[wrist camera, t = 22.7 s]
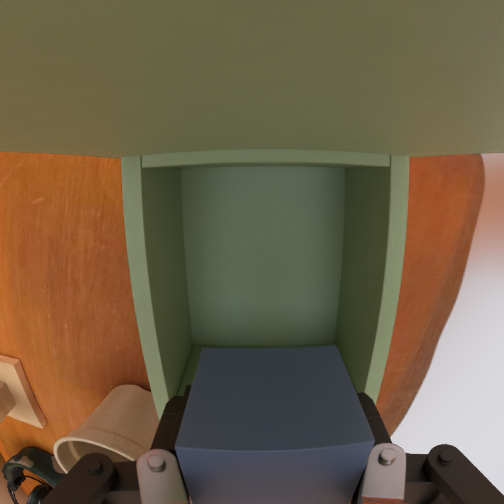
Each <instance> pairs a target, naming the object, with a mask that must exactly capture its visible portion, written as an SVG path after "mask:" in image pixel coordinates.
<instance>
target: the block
mask: <svg viewBox="0 0 504 504" xmlns="http://www.w3.org/2000/svg"><path fill="white" fill-rule="evenodd" d="M374 442H375V440H374V437H373V434H372V432H371V429H370V427H369V424H368V422H367V419H366V417H365V414H364V412H363V409H362V407H361V404H360V402H359V399H358V397H357V394H356V392H355V389H354V387H353V384H352V382H351V380H350V377H349V375H348V372H347V370H346V368H345V365H344V363H343V360H342V358H341V356H340V353H339V351H338V349H337V346H336V345H332V346H315V347H290V348H202V352H201V355H200V358H199V362H198V365H197V369H196V372H195V376H194V379H193V383H192V386H191V390H190V393H189V397H188V400H187V404H186V408H185V411H184V415H183V418H182V422H181V426H180V429H179V433H178V436H177V440H176V444H175V450H176V454H177V457H178V460H179V464H180V467H181V470H182V473H183V477H184V480H185V483H186V486H187V489H188V492H189V495H190V498H191V501H192V504H349V503H350V500H351V498H352V496H353V494H354V492H355V489H356V487H357V485H358V483H359V480H360V478H361V476H362V473H363V471H364V468H365V466H366V463H367V461H368V458H369V456H370V453H371V450H372V448H373V445H374Z"/></svg>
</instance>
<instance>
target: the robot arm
mask: <svg viewBox="0 0 504 504" xmlns="http://www.w3.org/2000/svg"><path fill="white" fill-rule="evenodd" d="M352 384H353V383H352ZM191 386H192V385H190V384H187V386H186V388H185V392H184V395H183V396H173V397H172V398H171V399H170V400H169V401H168V402H167V403H166V405H165V408H164V411H163V414H162V416H161V419H160V422H159V425H158V428H157V431H156V433H155V436H154V439H153V442H152V445H151V448H150V450H148V451H146V452H144V453H142V454H141V455H140V456H139V458H138V459H137V460H134V461H127V462H113V461H112V460H111V459H110V458H109V457H108V456H107V455H105V454H102V453H89V454H86V455H84V456H83V457H82V458H80V459H79V461H78V462H77V463H76V464H75V465H74V466H73V467H72V468H71V469H70V471H69V472H68V473H67V474H66V475H65V476H64V477H63V478H62V479H61V480H60V482H59V483H58V484H57V485H56V486H55V487H54V488H53V489H52V490H51V491H50V493H49V494H48V495H47V496H46V497H45V498H44V499H43V500H42V501H41V502H40V504H191V502H190V499H189V492H188V489H187V486H186V483H185V480H184V477H183V473H182V470H181V467H180V464H179V460H178V457H177V454H176V450H175V444H176V440H177V436H178V433H179V429H180V426H181V422H182V418H183V415H184V411H185V408H186V404H187V400H188V397H189V393H190V390H191ZM353 387H354V385H353ZM354 389H355V387H354ZM355 392H356V390H355ZM356 394H357V397H358V399H359V402H360V404H361V407H362V409H363V412H364V414H365V417H366V419H367V422H368V424H369V427H370V429H371V432H372V434H373V437H374V440H375V442H374V445H373V448H372V450H371V453H370V456H369V458H368V461H367V463H366V466H365V468H364V471H363V473H362V476H361V478H360V480H359V483H358V485H357V487H356V489H355V492H354V494H353V496H352V498H351V500H350V503H349V504H504V495H503V494H501V492H500V491H499V490H498V489H497V488H496V487H495V486H493V484H492V483H491V482H490V481H489V480H488V479H487V478H486V477H485V476H484V475H483V474H482V473H481V472H480V471H479V470H478V469H477V468H476V467H475V466H474V465H473V464H472V463H471V462H470V461H469V460H468V459H467V458H466V457H465V456H464V455H463V454H462V453H461V452H460V451H459V450H458V449H457V448H456V447H454V446H452V445H447V444H442V445H438V446H436V447H434V448H432V449H431V451H430V452H429V454H409V453H405V452H404V450H403V449H402V448H401V447H399V446H398V445H395V444H393V443H392V441H391V439H390V437H389V435H388V432H387V430H386V428H385V426H384V423H383V421H382V419H381V417H380V414H379V412H378V410H377V408H376V406H375V403H374V401H373V399H372V398H371V397H369V396H368V395H367V394H366V393H365V392H361V393H357V392H356Z"/></svg>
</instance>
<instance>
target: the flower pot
mask: <svg viewBox="0 0 504 504" xmlns="http://www.w3.org/2000/svg"><path fill="white" fill-rule="evenodd" d="M159 422H160V420H159V419H158V415H157V412H156V408H155V404H154V400H153V396H152V392H149V391H146V390H144V389H142V388H141V387H139V386H137V385H128V384H126V385H120V386H117V387H115V388H114V389H113V390H112V391H111V392H110V393H109V394H108V395H107V397H106V398H105V399H104V400H103V401H102V402H101V403H100V404H99V406H98V407H97V408H96V409H95V410H94V411H93V412H92V413H91V414H90V416H89V417H88V418H87V419H86V420H85V421H84V422H83V423H82V424H81V426H80V427H79V428H78V429H75V430H73V431H71V432H70V433H69V434H68V435H67V436H63V437H61V438H59V439H58V440H57V441H56V442H55V444H54V446H53V451H54V456H55V458H56V460H57V462H58V464H59V465H60V467H61V468H62V469H63V470H64V471H65V473H66V474H67V473H68V472H69V471H70V469H71V468H72V467H73V466H74V465H75V464H76V463H77V462H78V461H79V459H80V458H82V457H83V456H84V455H86V454H89V453H102V454H105V455H107V456H108V457H109V458H110V459H111V460H112V461H113V462H127V461H134V460H137V459H138V458H139V456H140V455H141V454H142V453H144V452H146V451H148V450H150V448H151V445H152V442H153V439H154V436H155V433H156V431H157V428H158V425H159Z"/></svg>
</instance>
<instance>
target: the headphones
mask: <svg viewBox="0 0 504 504" xmlns="http://www.w3.org/2000/svg"><path fill="white" fill-rule="evenodd" d="M24 469H26V470H29V471H31V472H33V473H34V474H36V475H38V476H39V477H40V478H42V479H43V480H45V481H46V482H47V483H49V484H50V485H51V486H52V487H53V488H54V487H55V486H56V485H57V484H58V483H59V482H60V480H61V479H62V478H63V477H64V476H65V475H66V473H65V471H64V470H63V469H62V468H61V467H60V465H59V464H58V462H57V460H56V458H55V456H53V455H51V454H49V453H47V452H45V451H41V450H38V449H37V448H35V447H32V448H26V449H22V450H21V451H20V452H19V453H18V454H16V455H14V456H12V457H11V458H10V459H9V460H8V461H7V462H6V463H5V464H4V466H3V468H2V472H3V473H4V478H5V479H6V480H7V481H8V482H7V487H8V491H9V494H10V496H11V498H12V500H13V502H14V504H18V502H17V500H16V498H15V494H14V492H13V491H16V490H17V489H18V486H20V485H21V482H23V481H24V480H25V479H26V478H25V477H29V478H32V479H34V480H37V481H38V482H40V483H41V484H43V485H38V486H36V487H35V488H34V489H33V490H32V492H31V493H30V494H29V496H28V500H27V504H40V502H41V501H42V500H43V499H44V498H45V497H46V496H47V495H48V494H49V493H50V491H51V490H52V488H50V487H48V486H47V485H46V484H44V483H43V482H41V481H39V480H38V479H35V478H33V477H31V476H24V474H23V470H24ZM20 476H21V477H20ZM10 487H11V489H12V490H11V489H10Z"/></svg>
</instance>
